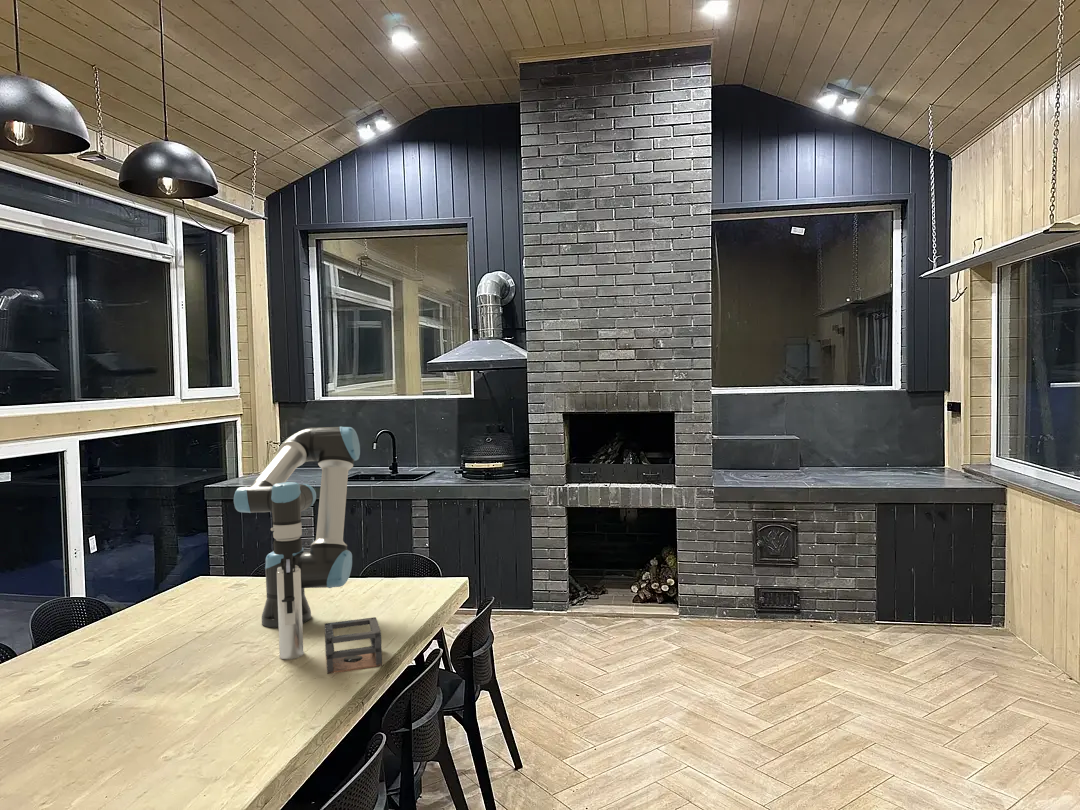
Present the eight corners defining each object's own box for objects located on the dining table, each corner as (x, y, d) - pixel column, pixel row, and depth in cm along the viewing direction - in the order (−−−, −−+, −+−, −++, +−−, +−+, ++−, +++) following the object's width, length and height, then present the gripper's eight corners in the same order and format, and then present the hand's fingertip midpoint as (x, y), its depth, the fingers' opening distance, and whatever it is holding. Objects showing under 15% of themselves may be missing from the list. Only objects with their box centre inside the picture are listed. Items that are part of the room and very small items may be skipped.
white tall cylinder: (296, 660, 195) (292, 570, 195) (274, 659, 197) (271, 569, 196) (308, 651, 202) (305, 564, 201) (287, 650, 203) (284, 563, 202)
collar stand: (325, 655, 198) (324, 623, 198) (376, 648, 203) (375, 617, 202) (327, 674, 185) (326, 639, 185) (382, 666, 189) (380, 632, 189)
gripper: (274, 533, 206) (277, 612, 206) (271, 546, 188) (275, 632, 189) (301, 531, 208) (304, 609, 209) (301, 543, 191) (304, 629, 191)
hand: (290, 620), depth 199 cm, fingers closed on white tall cylinder, 6 cm apart
